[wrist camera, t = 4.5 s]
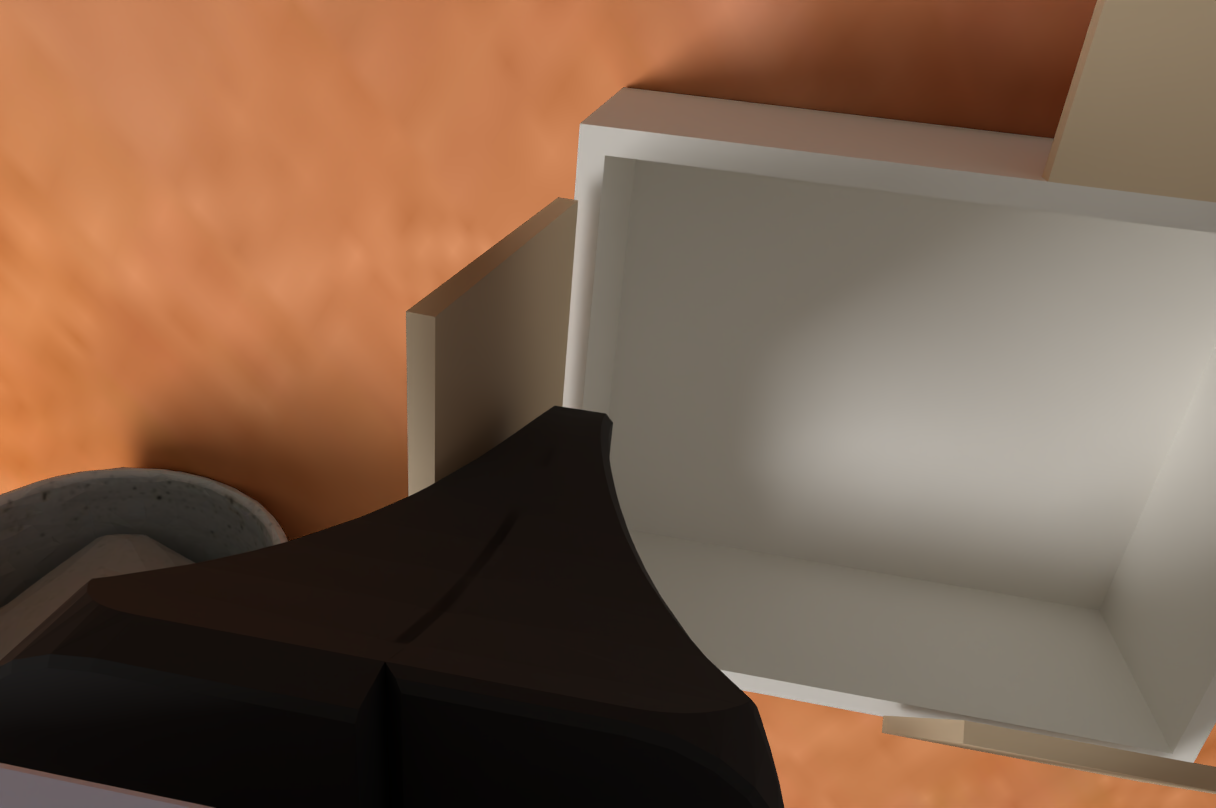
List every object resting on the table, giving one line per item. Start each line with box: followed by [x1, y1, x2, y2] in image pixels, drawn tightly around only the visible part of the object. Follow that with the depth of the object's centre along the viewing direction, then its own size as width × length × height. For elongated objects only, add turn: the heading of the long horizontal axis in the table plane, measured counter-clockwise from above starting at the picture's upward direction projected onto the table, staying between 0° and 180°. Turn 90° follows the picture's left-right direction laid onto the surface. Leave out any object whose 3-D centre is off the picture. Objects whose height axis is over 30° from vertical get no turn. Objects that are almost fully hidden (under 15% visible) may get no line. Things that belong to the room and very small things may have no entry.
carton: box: [562, 0, 1216, 763], centre depth 15 cm, size 16×15×4 cm
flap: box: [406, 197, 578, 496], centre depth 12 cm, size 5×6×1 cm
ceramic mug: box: [0, 467, 288, 660], centre depth 21 cm, size 11×8×8 cm
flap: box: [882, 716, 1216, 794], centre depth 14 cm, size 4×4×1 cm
